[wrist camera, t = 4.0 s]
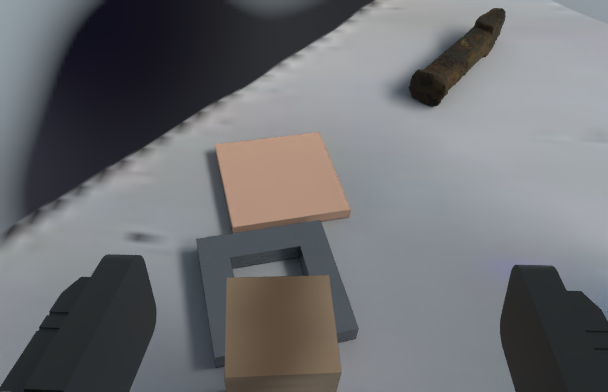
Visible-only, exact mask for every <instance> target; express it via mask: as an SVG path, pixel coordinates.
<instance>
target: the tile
mask: <svg viewBox="0 0 608 392" xmlns="http://www.w3.org/2000/svg"><path fill="white" fill-rule="evenodd" d="M215 148H216V156H217V160H218V165H219V170H220V175H221V179H222V184H223V189H224V194H225V198H226V203H227V208H228V212H229V217H230V222H231V227H232V231H233V233H239V232H245V231H252V230H258V229H264V228H271V227H277V226H284V225H290V224H297V223H303V222H310V221H316V220H320V221H327V220H333V219H340V218H346V217H349V215H350V210H351V209H350V207H349V204H348V202H347V199H346V197H345V194H344V192H343V190H342V187H341V185H340V182H339V180H338V177H337V175H336V172H335V170H334V167H333V165H332V163H331V160H330V158H329V155H328V153H327V150H326V148H325V145H324V143H323V140H322V138H321V135H320V133H319V132H317V133H308V134H300V135H291V136H283V137H274V138H266V139H257V140H249V141H240V142H232V143H223V144H215Z"/></svg>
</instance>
